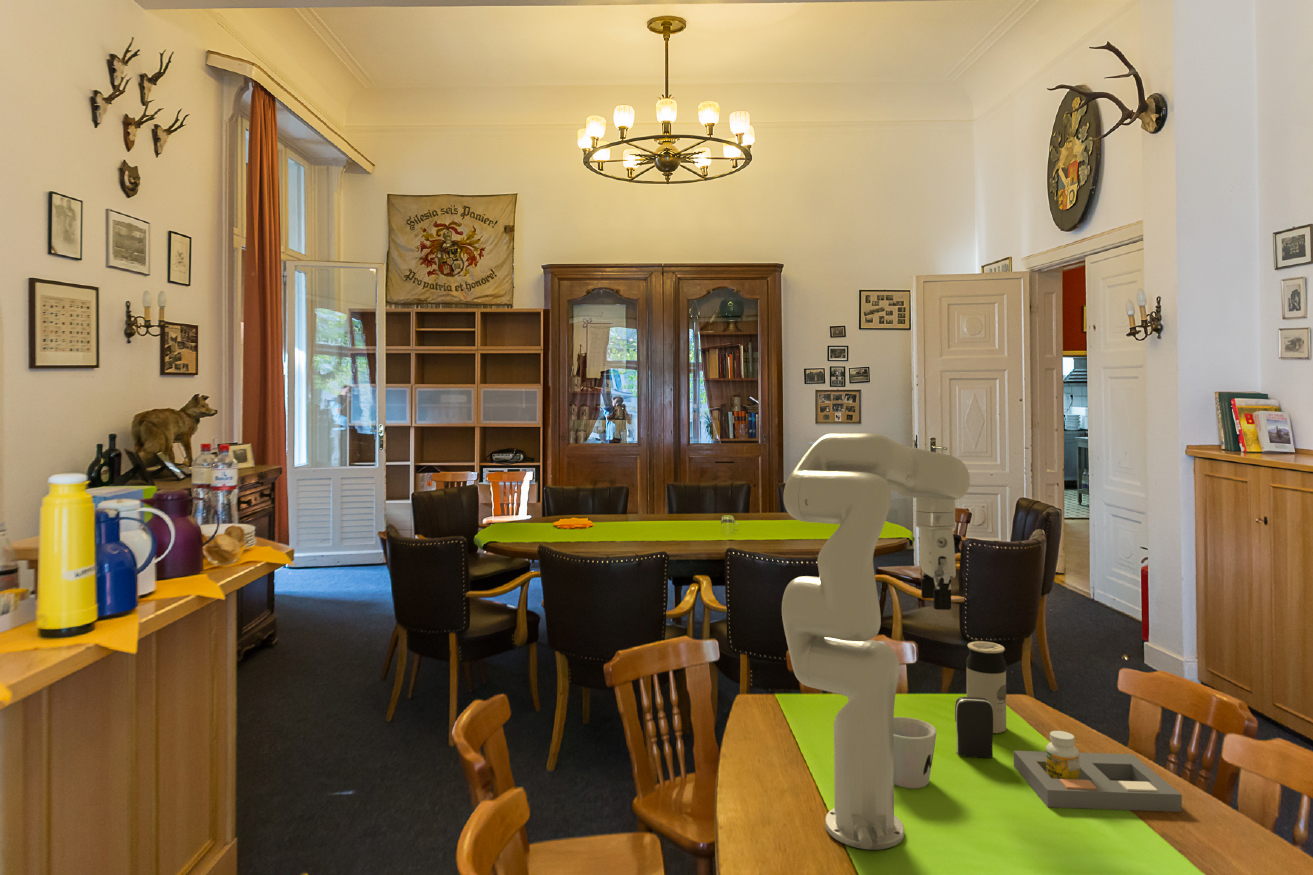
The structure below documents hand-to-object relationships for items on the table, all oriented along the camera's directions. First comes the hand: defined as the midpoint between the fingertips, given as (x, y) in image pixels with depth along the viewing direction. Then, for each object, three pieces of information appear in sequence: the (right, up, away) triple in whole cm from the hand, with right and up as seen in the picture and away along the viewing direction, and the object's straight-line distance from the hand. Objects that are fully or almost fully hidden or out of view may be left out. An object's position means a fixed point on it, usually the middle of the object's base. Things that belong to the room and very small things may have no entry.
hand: (935, 603), depth 155 cm
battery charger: (+7, -31, -1) cm, 31 cm away
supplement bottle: (+18, -31, -15) cm, 38 cm away
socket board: (+23, -30, -16) cm, 41 cm away
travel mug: (+16, -30, +12) cm, 36 cm away
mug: (-12, -31, -11) cm, 35 cm away
